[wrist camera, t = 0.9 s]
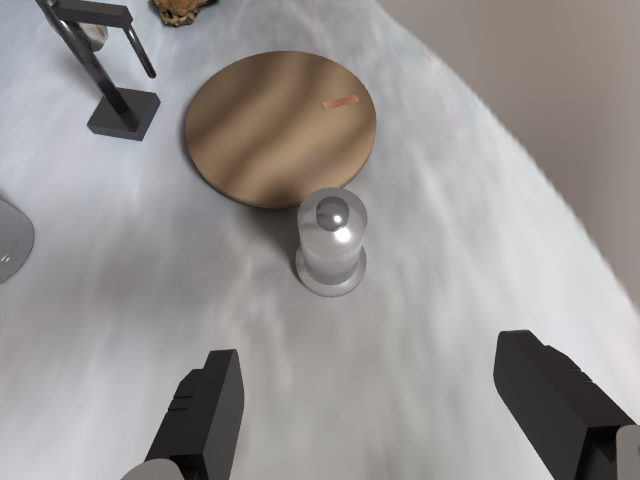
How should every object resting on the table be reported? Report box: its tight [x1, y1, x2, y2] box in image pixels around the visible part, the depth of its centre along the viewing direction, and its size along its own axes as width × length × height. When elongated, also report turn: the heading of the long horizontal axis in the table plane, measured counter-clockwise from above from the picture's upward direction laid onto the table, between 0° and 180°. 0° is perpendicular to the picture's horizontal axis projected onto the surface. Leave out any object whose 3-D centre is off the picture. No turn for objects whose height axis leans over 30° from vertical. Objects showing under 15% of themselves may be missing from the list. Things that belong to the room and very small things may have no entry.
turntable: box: [185, 51, 376, 209], centre depth 41 cm, size 21×21×2 cm
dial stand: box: [35, 0, 161, 141], centre depth 38 cm, size 10×6×14 cm, turn 78°
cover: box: [295, 187, 367, 297], centre depth 32 cm, size 7×7×11 cm
